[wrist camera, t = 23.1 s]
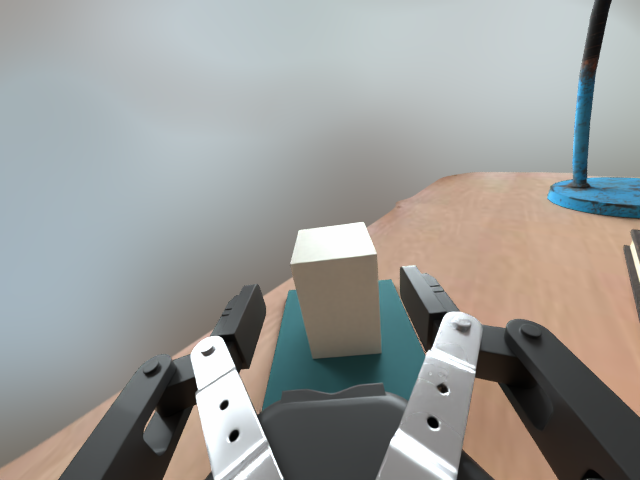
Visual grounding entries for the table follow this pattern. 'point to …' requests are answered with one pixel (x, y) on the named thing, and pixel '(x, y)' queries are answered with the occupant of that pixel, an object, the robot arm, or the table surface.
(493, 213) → the table surface
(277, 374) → the mat
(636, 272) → the hardcover book
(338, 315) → the container
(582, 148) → the desk lamp
